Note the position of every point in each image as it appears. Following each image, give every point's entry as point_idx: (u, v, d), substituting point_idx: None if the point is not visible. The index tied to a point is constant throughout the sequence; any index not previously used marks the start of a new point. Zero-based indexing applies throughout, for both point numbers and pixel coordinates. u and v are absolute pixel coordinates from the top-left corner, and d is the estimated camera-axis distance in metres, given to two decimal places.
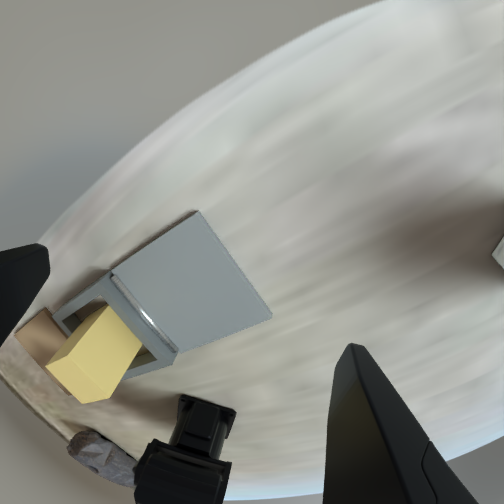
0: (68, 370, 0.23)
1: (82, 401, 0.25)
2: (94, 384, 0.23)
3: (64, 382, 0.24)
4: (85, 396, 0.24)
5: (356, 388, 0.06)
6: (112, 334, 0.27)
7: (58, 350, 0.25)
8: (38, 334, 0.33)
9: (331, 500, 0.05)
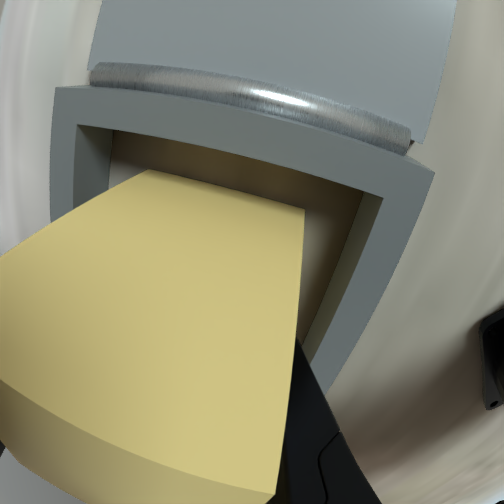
0: (11, 428, 0.03)
1: None
2: (105, 446, 0.03)
3: (87, 499, 0.05)
4: None
5: None
6: (171, 213, 0.07)
7: None
8: None
9: None
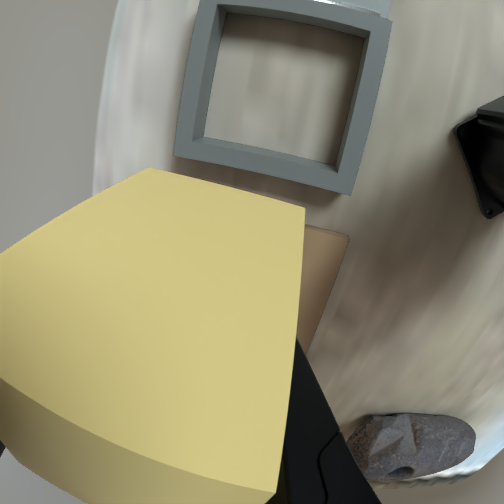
0: (10, 427, 0.03)
1: None
2: (104, 445, 0.03)
3: (87, 499, 0.05)
4: None
5: None
6: (172, 211, 0.07)
7: None
8: None
9: None
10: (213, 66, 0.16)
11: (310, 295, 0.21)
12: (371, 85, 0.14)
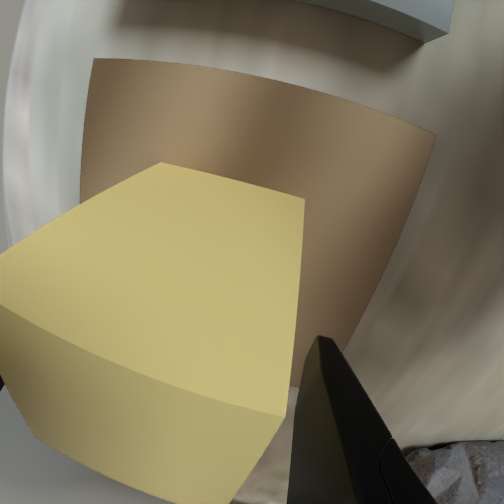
0: (38, 389, 0.04)
1: None
2: (137, 381, 0.03)
3: (103, 467, 0.05)
4: (194, 487, 0.05)
5: (318, 380, 0.06)
6: (185, 199, 0.08)
7: None
8: None
9: (294, 496, 0.05)
10: None
11: (359, 249, 0.11)
12: None
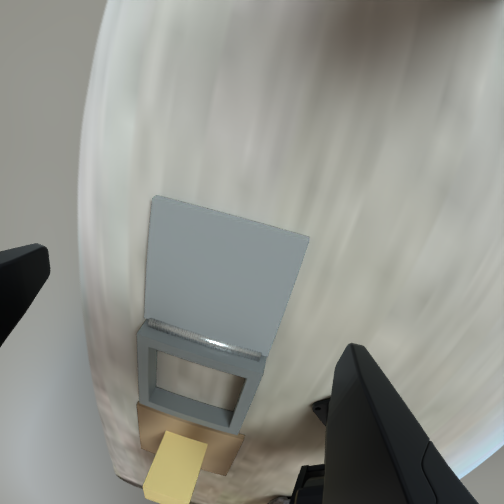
0: (154, 495, 0.26)
1: None
2: (172, 497, 0.25)
3: (163, 503, 0.27)
4: None
5: (356, 388, 0.06)
6: (175, 454, 0.30)
7: None
8: (154, 432, 0.33)
9: (331, 500, 0.05)
10: (155, 361, 0.27)
11: (225, 453, 0.32)
12: (246, 401, 0.25)
